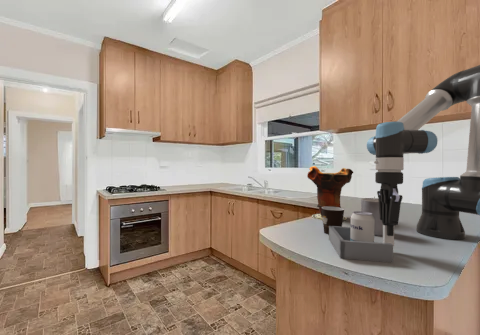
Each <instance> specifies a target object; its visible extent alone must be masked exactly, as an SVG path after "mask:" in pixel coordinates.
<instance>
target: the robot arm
mask: <svg viewBox="0 0 480 335" xmlns="http://www.w3.org/2000/svg"><path fill="white" fill-rule="evenodd" d="M464 102H466V104H467V105H469V106H471V110H470V121H469V122H470V124H469V134H468V135H469V136H468V148H467V159H466V161H467V162H466V169H465V170H466V171H465V172H463V173H461V174H460V176H443V177H442V176H441V177H439V176H438V177H429V178H425V179H424V180H422V185H421V186H422V187H421V215H420V217H419V218H418V221H417V223H416V229H415V231H416V232H417V233H419V234H421V235H425V236H429V237H433V238H438V239H446V240H464V239H466V231H465V229H464V226H463V223H462V220H461V219H460V213H466V214H472V215H477V216H480V64H478V65H475V66H473V67H469V68H467V69H464V70H461V71H458V72H456V73H454V74H452V75H450V76H448V77H447V78H445V79H444V80H443V81H441V82H439V83H438V84H437V85H436V86H435V87H433V88H432V89H431V90H429V91H428V92H427V93H426V95H425V97H424V99H423V100H421V101H420V102H419V103H418V104H417V105H415V106H414V107H413V108H412V109H411V110H409V111H408V112H407V113H405V114H404V115H403V116H401V118H399V119H398V120H397V121H386V122H385V121H384V122H381V123H379V124H377V125H376V128H375V136H372V137H370V138H369V139H368V140H367V141H366V149H367V151H368V152H369V153H370V155H374V156H375V160H374V161H373V163H374V164H375V170H376V172H375V174H374V175H375V183H376V184H379V185H380V189H379V190H377V191H376V195H377V198H378V200H379V213H380V220H382V223H383V236H382V243H391V244H393V247H395V226H398V225H399V219H400V212H401V205H402V201H403V195H401V194H399V188H398V185H402V184H403V183H404V173H403V172H402V171H403V170H404V166H405V165H404V162H405V160H404V155H405V154H407V155H408V154H419V155H420V154H428V153H431V152H433V151H435V149H436V148H437V146H438V141H439V140H438V136H437V135H436V134H435V132H433V131H431V130H425V129H421V128H422V127H424V126H425V125H426V124H427V123H429V121H431V120H432V119H433V118H434V117H436V116H437V115H438V114H439V113H441V112H443V111H446V110H448V109H449V108H451V107H452V106H454V105H458V104H460V103H464ZM420 129H421V130H420Z"/></svg>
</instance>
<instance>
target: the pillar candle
mask: <svg viewBox="0 0 480 335" xmlns="http://www.w3.org/2000/svg"><path fill="white" fill-rule="evenodd" d="M360 211H362V212H369V213H372V216H373V217H374V219H375V224H374V236H378V237H383V223H382V220H380V213H379V200H378V197H377V198H376V196H374V197H363V198H361V199H360Z"/></svg>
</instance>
